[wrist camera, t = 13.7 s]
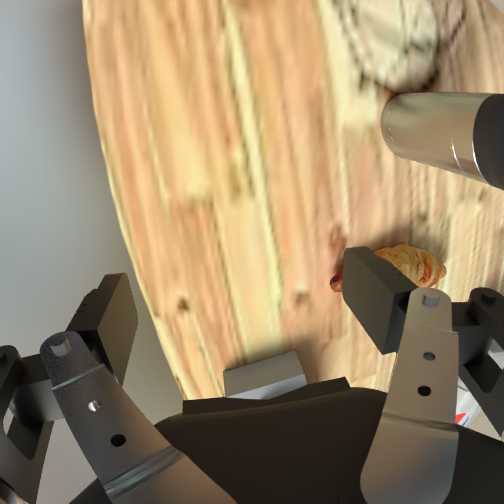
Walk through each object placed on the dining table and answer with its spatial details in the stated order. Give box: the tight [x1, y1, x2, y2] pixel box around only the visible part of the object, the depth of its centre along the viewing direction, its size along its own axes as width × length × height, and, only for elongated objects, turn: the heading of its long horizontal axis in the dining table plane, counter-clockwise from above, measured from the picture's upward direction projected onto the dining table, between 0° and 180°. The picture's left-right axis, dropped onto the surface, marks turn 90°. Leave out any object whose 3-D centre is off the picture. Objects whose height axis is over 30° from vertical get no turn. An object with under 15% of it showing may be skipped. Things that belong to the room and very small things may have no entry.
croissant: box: [330, 242, 446, 292], centre depth 44 cm, size 21×10×8 cm, turn 92°
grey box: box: [223, 350, 307, 399], centre depth 49 cm, size 12×12×6 cm
